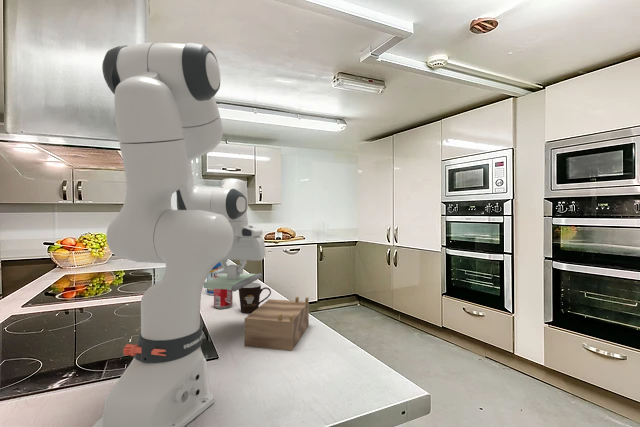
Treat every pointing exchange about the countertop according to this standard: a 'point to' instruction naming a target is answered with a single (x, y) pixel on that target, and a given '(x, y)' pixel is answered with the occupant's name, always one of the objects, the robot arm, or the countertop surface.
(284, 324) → the brown wooden box
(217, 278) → the green slab
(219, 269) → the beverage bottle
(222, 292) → the soda can
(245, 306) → the coffee mug
